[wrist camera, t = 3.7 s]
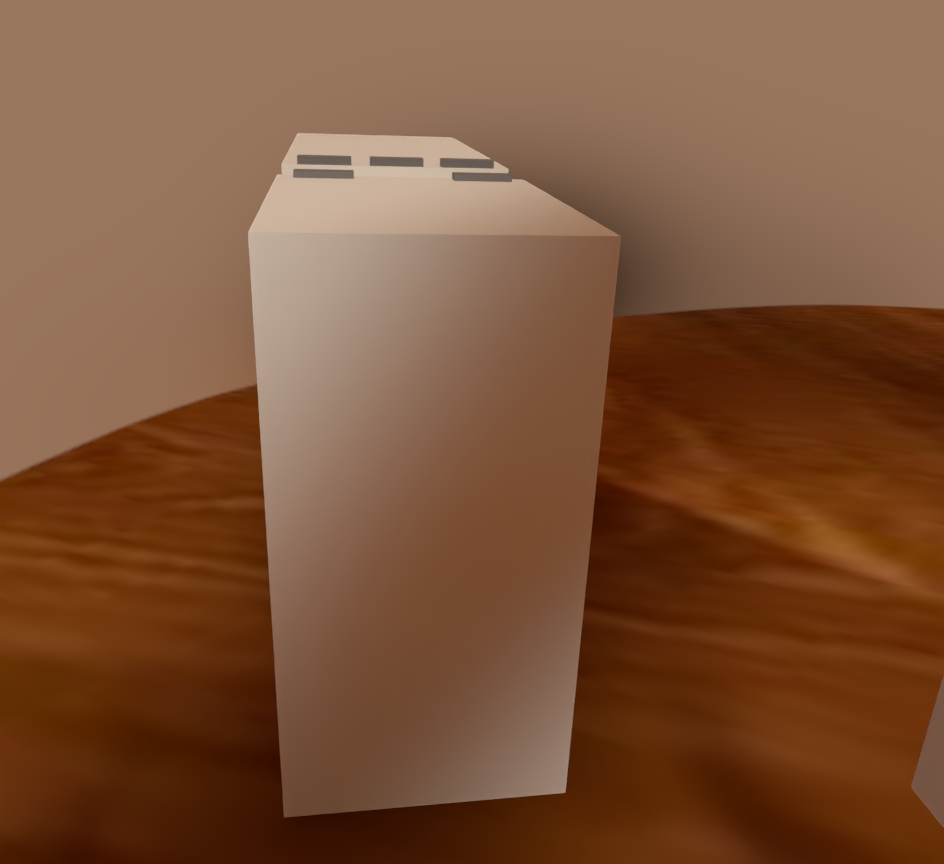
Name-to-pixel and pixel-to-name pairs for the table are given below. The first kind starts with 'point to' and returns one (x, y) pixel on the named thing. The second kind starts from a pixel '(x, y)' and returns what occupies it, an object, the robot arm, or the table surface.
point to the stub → (427, 479)
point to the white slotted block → (386, 156)
